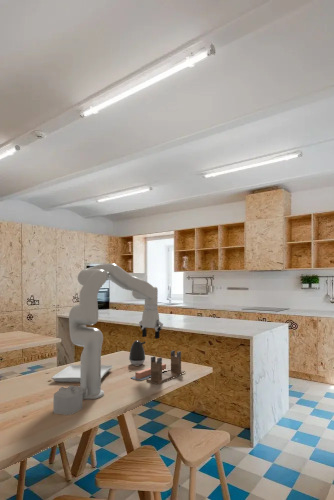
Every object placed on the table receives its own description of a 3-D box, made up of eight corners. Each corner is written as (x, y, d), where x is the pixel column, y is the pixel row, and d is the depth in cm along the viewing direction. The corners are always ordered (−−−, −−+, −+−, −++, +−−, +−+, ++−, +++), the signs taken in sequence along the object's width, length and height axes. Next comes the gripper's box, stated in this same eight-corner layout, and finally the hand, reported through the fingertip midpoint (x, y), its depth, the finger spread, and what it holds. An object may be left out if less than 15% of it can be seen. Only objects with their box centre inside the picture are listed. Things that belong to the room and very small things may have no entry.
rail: (139, 378, 185) (139, 373, 185) (135, 377, 186) (135, 372, 187) (166, 369, 204) (166, 364, 204) (162, 368, 206) (162, 363, 206)
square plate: (113, 371, 204) (113, 364, 204) (100, 385, 176) (100, 377, 177) (70, 370, 206) (70, 363, 207) (50, 384, 179) (50, 376, 179)
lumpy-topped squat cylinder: (49, 413, 140) (50, 391, 141) (67, 401, 153) (67, 382, 153) (71, 415, 137) (72, 393, 138) (88, 404, 150) (88, 384, 150)
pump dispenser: (144, 366, 211) (144, 341, 212) (128, 366, 211) (128, 342, 213) (146, 362, 221) (146, 339, 223) (130, 362, 222) (130, 339, 223)
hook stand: (158, 384, 176) (158, 359, 177) (146, 381, 181) (146, 357, 182) (185, 373, 196) (184, 351, 197) (174, 371, 201) (173, 349, 202)
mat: (141, 381, 182) (141, 380, 182) (130, 378, 187) (130, 377, 187) (171, 369, 203) (171, 369, 203) (160, 367, 208) (160, 367, 208)
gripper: (135, 307, 200) (135, 336, 199) (158, 308, 190) (158, 339, 188) (144, 306, 206) (143, 335, 204) (166, 308, 196) (166, 338, 194)
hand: (150, 337), depth 196 cm, fingers open, 9 cm apart
